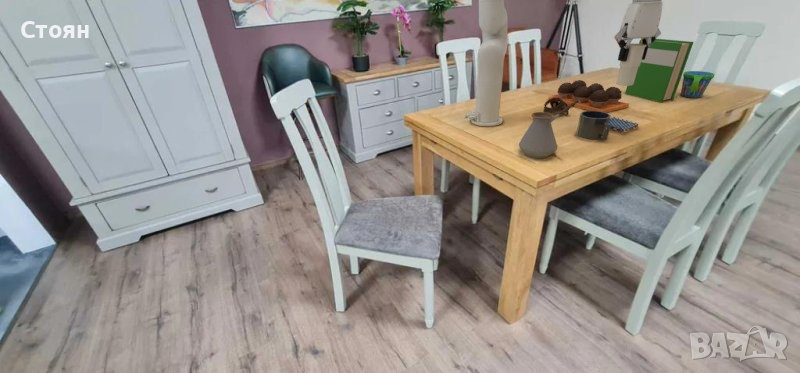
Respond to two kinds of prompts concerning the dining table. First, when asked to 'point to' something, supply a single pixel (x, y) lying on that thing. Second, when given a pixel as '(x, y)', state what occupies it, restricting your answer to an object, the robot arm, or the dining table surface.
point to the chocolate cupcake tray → (591, 96)
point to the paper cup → (630, 65)
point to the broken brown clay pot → (555, 105)
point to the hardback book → (660, 70)
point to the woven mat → (621, 125)
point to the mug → (593, 125)
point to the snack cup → (695, 83)
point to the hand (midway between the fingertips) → (631, 59)
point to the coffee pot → (541, 135)
